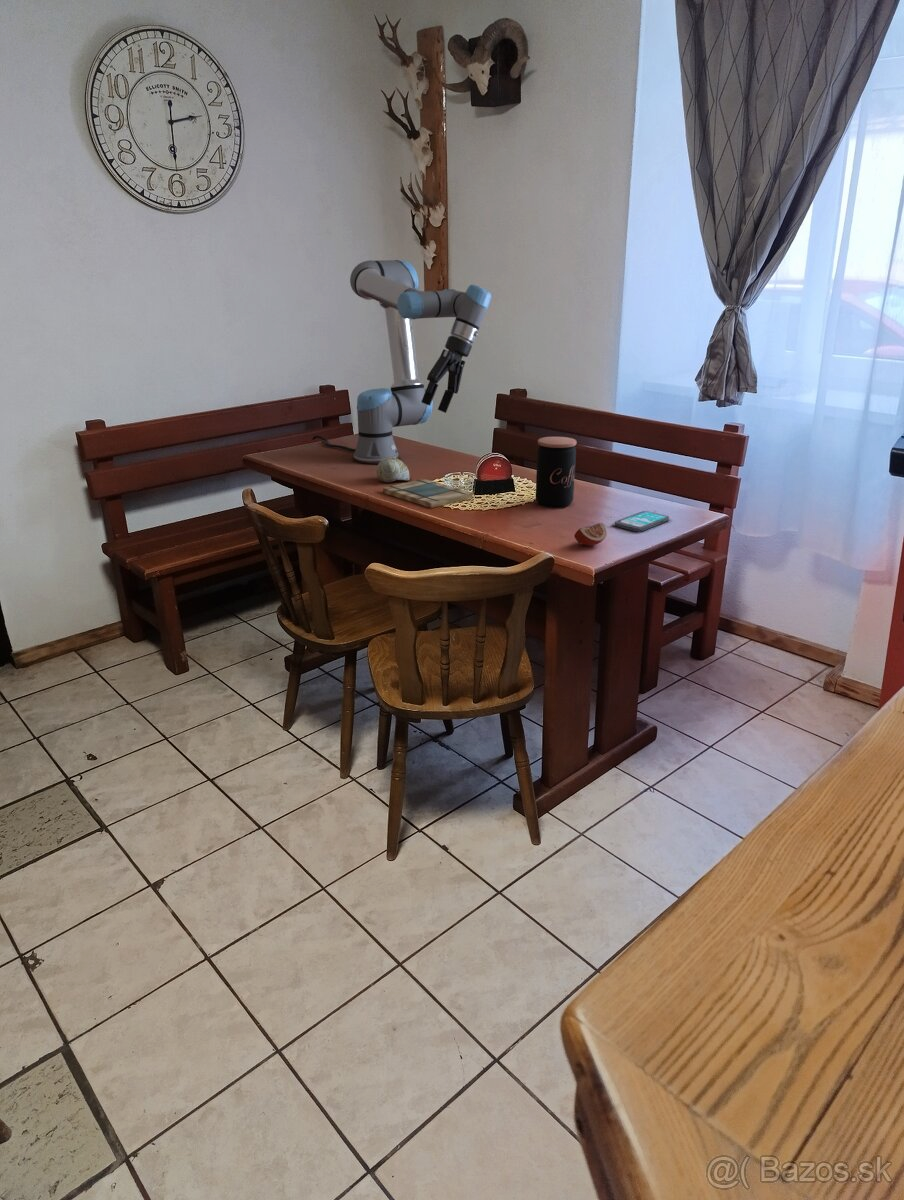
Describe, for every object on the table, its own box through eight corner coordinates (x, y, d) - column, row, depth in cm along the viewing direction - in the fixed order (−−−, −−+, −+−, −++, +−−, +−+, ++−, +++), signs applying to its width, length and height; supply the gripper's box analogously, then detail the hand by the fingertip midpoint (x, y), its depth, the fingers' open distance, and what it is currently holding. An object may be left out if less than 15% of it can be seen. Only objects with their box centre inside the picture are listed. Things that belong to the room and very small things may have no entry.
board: (383, 492, 242) (382, 487, 241) (423, 483, 252) (423, 478, 251) (431, 508, 227) (431, 502, 226) (472, 497, 237) (472, 492, 236)
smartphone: (612, 521, 212) (644, 509, 221) (612, 525, 212) (643, 513, 222) (640, 528, 206) (671, 516, 216) (640, 532, 206) (671, 519, 216)
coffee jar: (548, 510, 225) (551, 446, 218) (528, 501, 234) (530, 438, 227) (580, 505, 229) (584, 442, 222) (559, 496, 238) (562, 435, 231)
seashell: (411, 473, 261) (410, 449, 253) (407, 494, 254) (406, 469, 247) (380, 471, 261) (378, 446, 253) (375, 491, 255) (373, 467, 247)
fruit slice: (591, 538, 203) (592, 518, 201) (612, 544, 198) (613, 525, 196) (568, 545, 198) (569, 525, 196) (589, 552, 193) (590, 532, 191)
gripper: (458, 333, 227) (429, 405, 232) (484, 353, 251) (458, 418, 255) (435, 324, 230) (407, 396, 234) (463, 345, 253) (437, 409, 257)
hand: (433, 407), depth 244 cm, fingers open, 13 cm apart
